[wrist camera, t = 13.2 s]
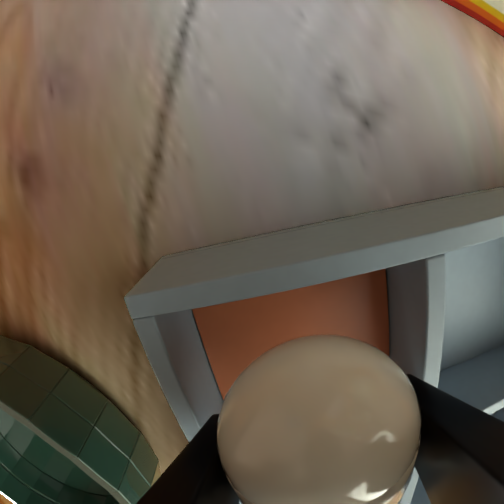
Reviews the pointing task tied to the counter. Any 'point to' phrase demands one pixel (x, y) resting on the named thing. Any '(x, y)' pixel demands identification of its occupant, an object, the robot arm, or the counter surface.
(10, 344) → the bowl
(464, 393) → the divided tray
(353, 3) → the counter surface
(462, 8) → the baking soda box
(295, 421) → the egg
